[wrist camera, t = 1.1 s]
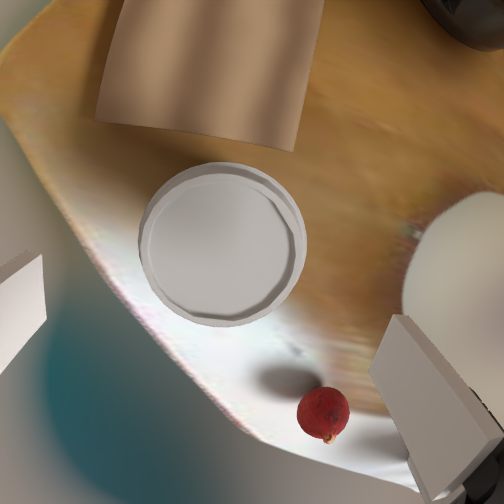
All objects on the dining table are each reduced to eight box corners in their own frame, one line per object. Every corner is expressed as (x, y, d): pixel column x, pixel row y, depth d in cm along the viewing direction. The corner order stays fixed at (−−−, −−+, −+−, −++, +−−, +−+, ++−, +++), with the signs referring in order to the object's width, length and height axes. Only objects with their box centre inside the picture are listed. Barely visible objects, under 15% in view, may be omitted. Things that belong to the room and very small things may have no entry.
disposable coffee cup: (152, 220, 28) (103, 273, 17) (215, 132, 26) (200, 125, 15) (237, 280, 30) (239, 360, 19) (303, 199, 28) (347, 239, 17)
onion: (308, 367, 34) (323, 419, 27) (349, 378, 35) (369, 426, 28) (284, 401, 36) (293, 453, 28) (324, 410, 37) (338, 458, 29)
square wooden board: (320, -7, 22) (328, -21, 19) (286, 151, 27) (292, 152, 24) (149, -31, 20) (142, -45, 17) (107, 122, 25) (93, 121, 22)
